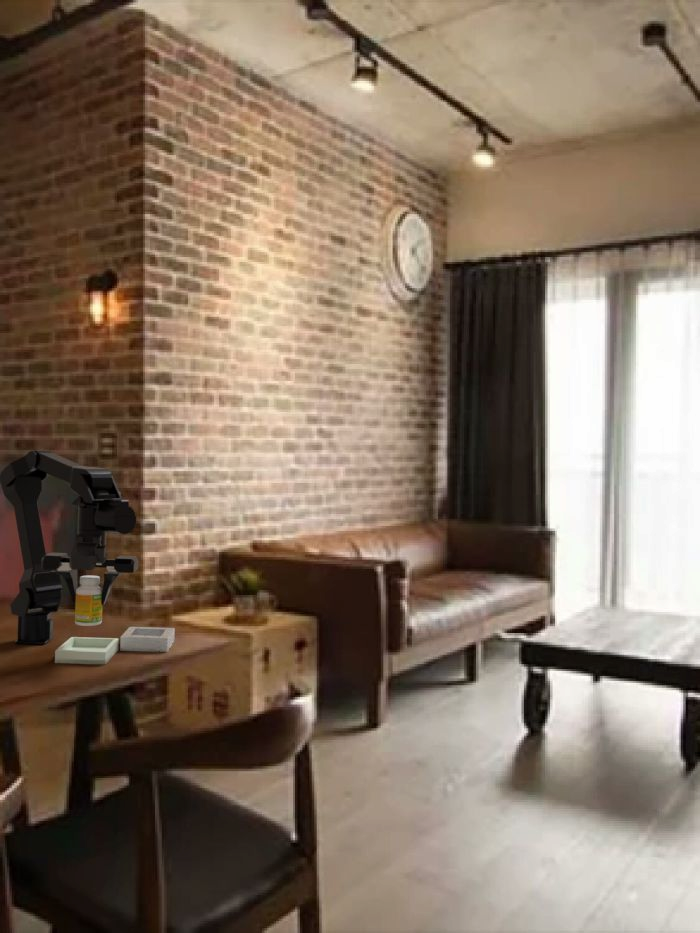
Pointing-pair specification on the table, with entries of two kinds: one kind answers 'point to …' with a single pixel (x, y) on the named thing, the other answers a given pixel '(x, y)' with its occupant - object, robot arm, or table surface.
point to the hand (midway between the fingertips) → (89, 604)
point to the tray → (86, 650)
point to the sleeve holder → (147, 639)
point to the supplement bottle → (88, 601)
